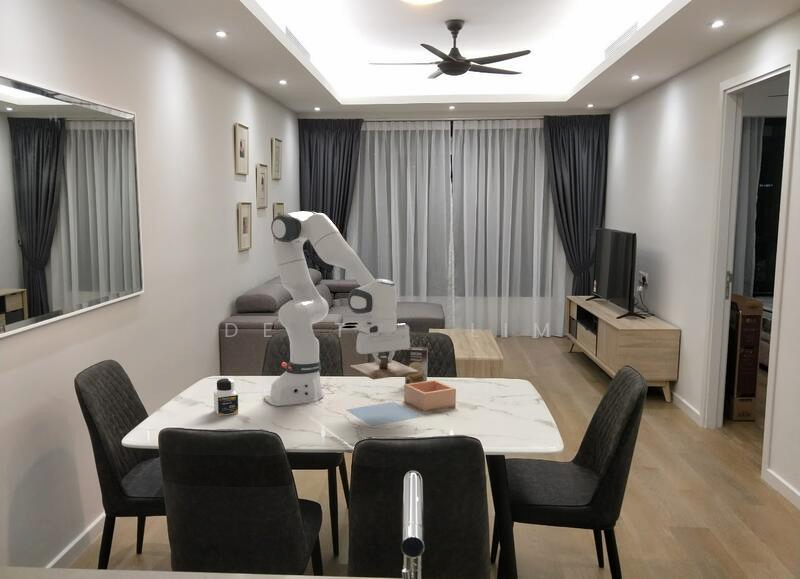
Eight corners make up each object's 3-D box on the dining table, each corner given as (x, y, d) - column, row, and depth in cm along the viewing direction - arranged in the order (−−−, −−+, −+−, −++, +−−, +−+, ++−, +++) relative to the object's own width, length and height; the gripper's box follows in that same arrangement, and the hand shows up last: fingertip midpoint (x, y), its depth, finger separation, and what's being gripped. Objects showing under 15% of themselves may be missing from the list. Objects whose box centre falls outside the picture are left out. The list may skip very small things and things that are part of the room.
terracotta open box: (423, 412, 235) (424, 393, 234) (404, 402, 247) (404, 384, 246) (455, 406, 242) (455, 388, 241) (434, 397, 254) (435, 379, 253)
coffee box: (404, 387, 267) (404, 349, 265) (405, 383, 273) (406, 346, 271) (426, 388, 266) (427, 350, 264) (427, 384, 272) (428, 347, 270)
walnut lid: (373, 379, 218) (373, 365, 217) (349, 367, 233) (349, 354, 232) (418, 373, 227) (418, 359, 226) (392, 362, 242) (392, 349, 242)
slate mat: (371, 427, 218) (371, 425, 218) (345, 411, 235) (345, 409, 235) (422, 418, 228) (422, 416, 228) (393, 403, 246) (393, 401, 245)
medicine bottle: (218, 416, 228) (217, 383, 227) (214, 410, 235) (213, 378, 233) (238, 413, 232) (237, 380, 230) (233, 407, 238) (233, 376, 237)
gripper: (404, 321, 236) (404, 358, 238) (354, 326, 225) (354, 364, 227) (413, 324, 230) (413, 362, 232) (362, 329, 220) (362, 368, 222)
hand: (383, 363), depth 230 cm, fingers closed on walnut lid, 3 cm apart
